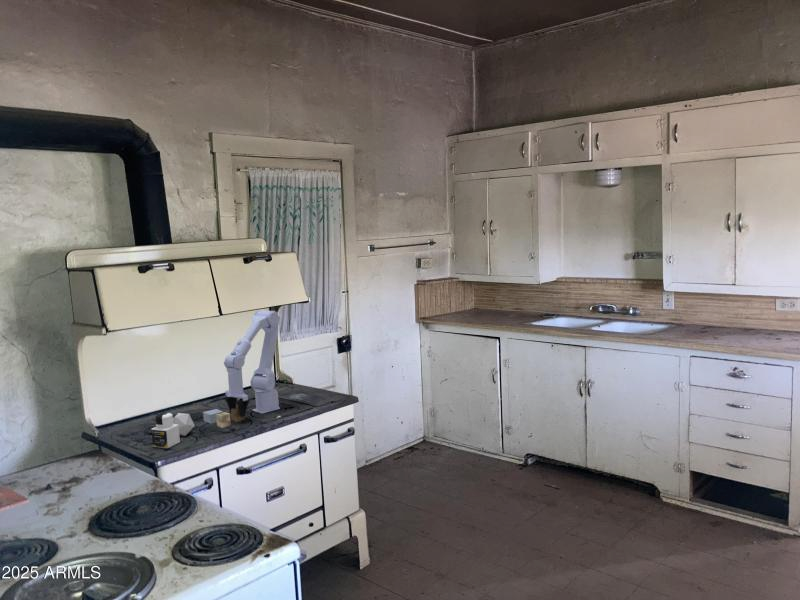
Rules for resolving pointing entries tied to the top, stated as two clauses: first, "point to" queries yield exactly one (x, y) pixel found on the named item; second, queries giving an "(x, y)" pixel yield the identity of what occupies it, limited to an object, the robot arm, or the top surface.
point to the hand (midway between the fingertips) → (237, 414)
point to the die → (183, 423)
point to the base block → (211, 415)
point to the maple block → (223, 420)
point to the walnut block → (236, 415)
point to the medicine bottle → (165, 431)
